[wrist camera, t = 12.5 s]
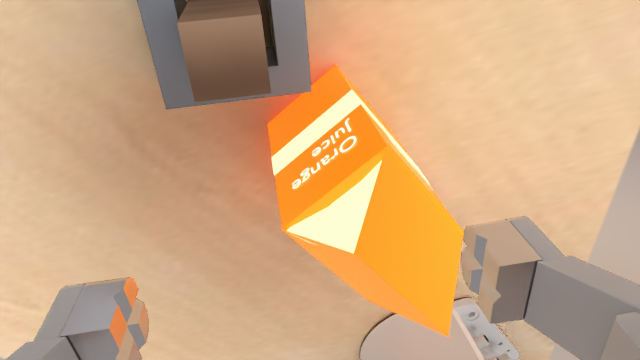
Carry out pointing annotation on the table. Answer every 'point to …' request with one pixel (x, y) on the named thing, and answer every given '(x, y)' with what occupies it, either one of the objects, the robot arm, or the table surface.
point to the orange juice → (364, 203)
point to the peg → (224, 49)
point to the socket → (283, 57)
